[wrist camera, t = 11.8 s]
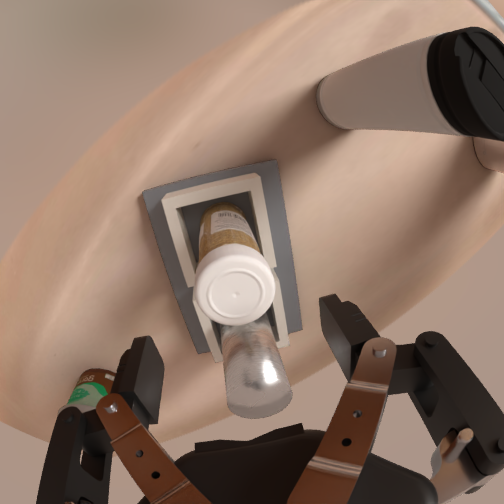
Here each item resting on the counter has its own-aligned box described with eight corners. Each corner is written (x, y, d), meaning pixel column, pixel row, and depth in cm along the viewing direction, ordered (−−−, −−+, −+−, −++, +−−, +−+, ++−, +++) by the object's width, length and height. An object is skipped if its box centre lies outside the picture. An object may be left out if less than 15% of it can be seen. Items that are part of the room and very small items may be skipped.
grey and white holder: (274, 159, 27) (284, 162, 24) (300, 325, 35) (309, 345, 32) (144, 190, 27) (134, 198, 23) (198, 348, 35) (198, 370, 31)
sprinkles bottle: (191, 230, 28) (178, 306, 16) (217, 191, 27) (224, 240, 15) (229, 254, 29) (245, 340, 17) (256, 217, 28) (293, 283, 16)
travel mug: (357, 142, 28) (522, 172, 9) (305, 109, 26) (459, 84, 7) (379, 95, 26) (539, 88, 8) (330, 61, 24) (479, 0, 6)
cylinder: (259, 285, 31) (288, 371, 19) (267, 322, 33) (295, 409, 21) (213, 296, 31) (219, 387, 19) (224, 331, 33) (235, 423, 21)
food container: (95, 348, 33) (74, 404, 24) (131, 374, 35) (119, 431, 26) (61, 383, 35) (42, 431, 26) (92, 404, 37) (79, 453, 28)
